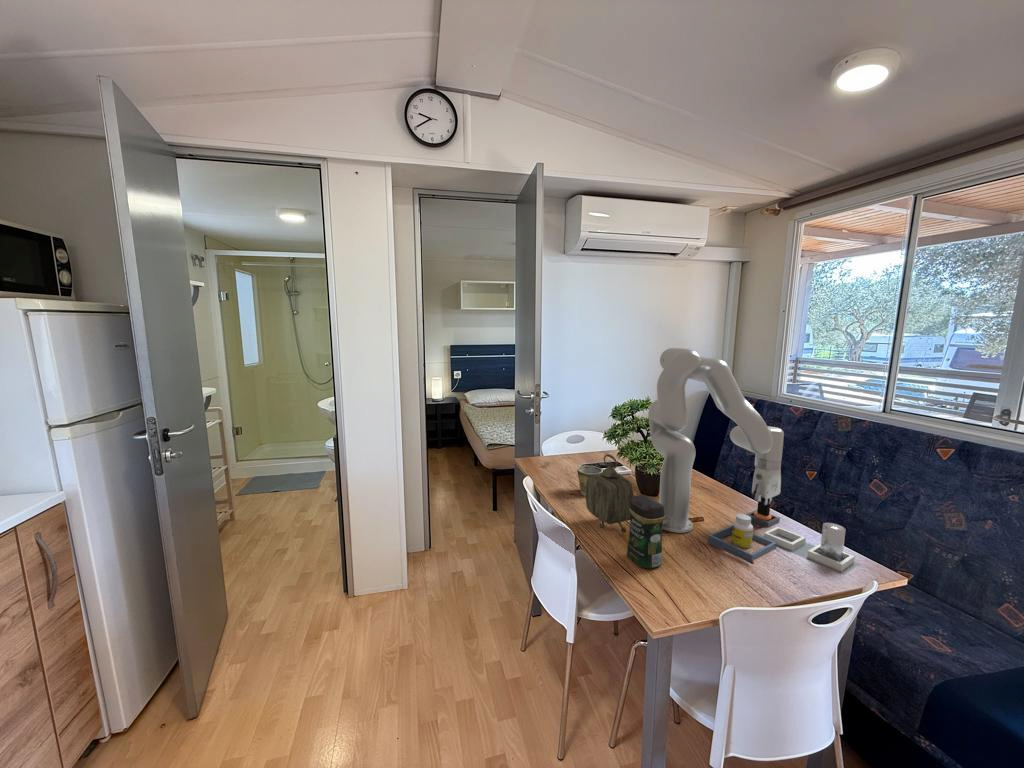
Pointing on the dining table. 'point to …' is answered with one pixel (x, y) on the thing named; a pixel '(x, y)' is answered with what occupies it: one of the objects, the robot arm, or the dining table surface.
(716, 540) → the rectangular frame
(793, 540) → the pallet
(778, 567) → the dining table surface
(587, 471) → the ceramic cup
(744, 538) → the supplement bottle
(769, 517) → the button
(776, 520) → the button housing
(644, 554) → the coffee jar
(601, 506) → the olive drawstring pouch
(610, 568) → the dining table surface
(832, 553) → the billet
